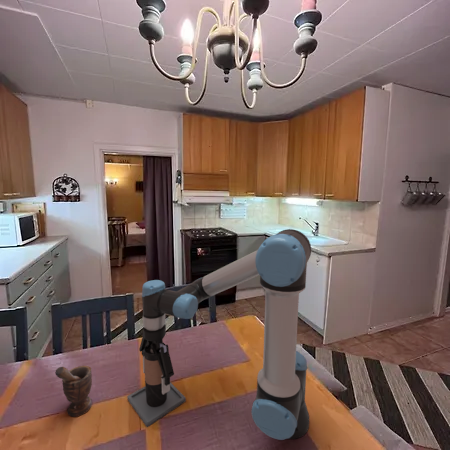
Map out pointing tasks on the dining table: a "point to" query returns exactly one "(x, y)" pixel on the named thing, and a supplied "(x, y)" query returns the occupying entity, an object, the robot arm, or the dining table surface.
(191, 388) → the dining table surface
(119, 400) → the dining table surface
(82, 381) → the mortar and pestle
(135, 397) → the slate tray
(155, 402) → the travel mug
